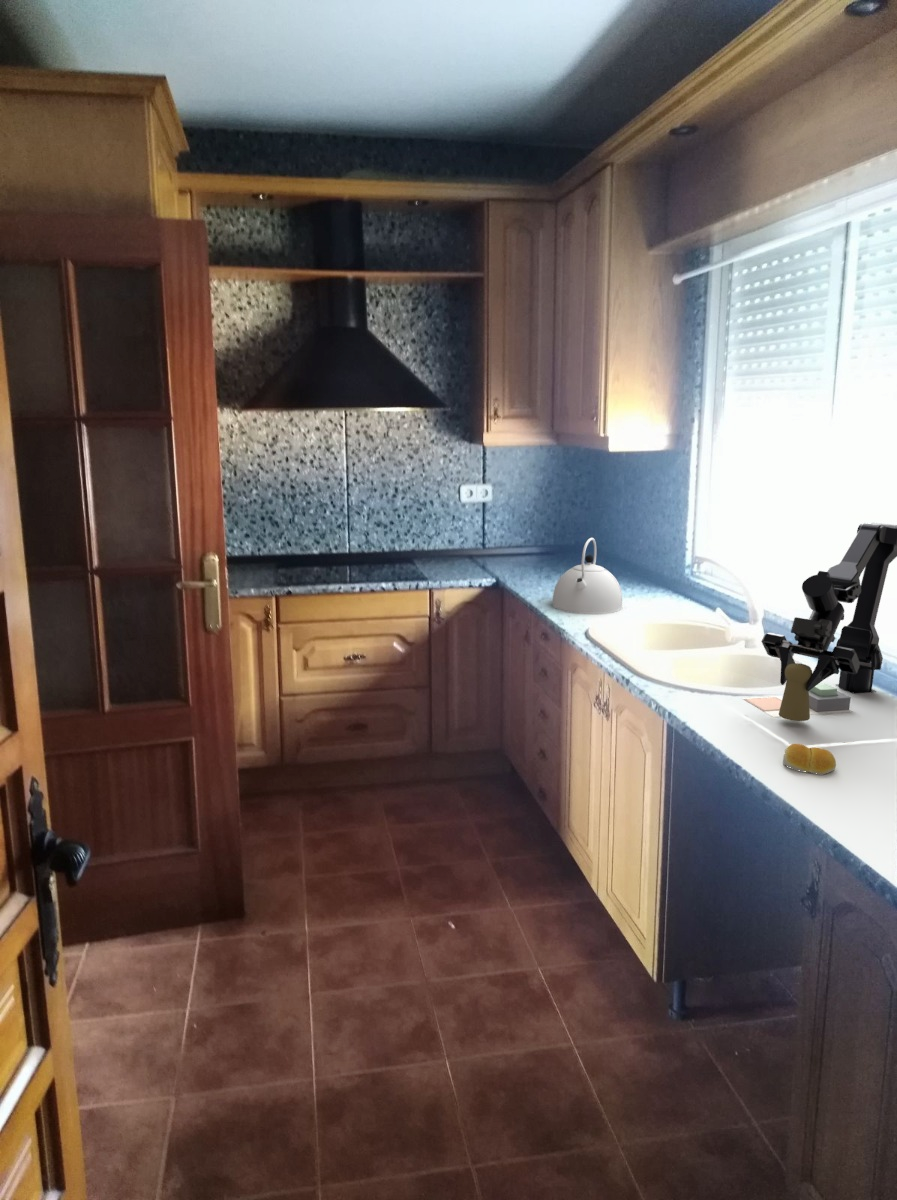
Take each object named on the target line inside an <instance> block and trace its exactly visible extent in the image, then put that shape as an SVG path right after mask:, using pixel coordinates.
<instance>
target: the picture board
mask: <svg viewBox="0 0 897 1200" xmlns="http://www.w3.org/2000/svg"><path fill="white" fill-rule="evenodd" d="M782 698H783V695H780V696H779V695H777V696H776V695H775V696H766V697H765V696H761V697H749V698H747V697H744V698H743V700H744V701H745V702H747V703H748V704H750V705H752V706H754V707H755V708H757V709H758V710H760V711H762V712H764V713H765V714H767V715H768V716H770V717H771V718H781V717H780V716H779V711H780V707H781V702H782ZM851 698H852V697H851V696H849V695H847V694H844V693H842V691H841V692H840V691H839V690H837V696H825V697H819V696H817V695H815V694H813V693H811V692H809V709H810V716H811V715H821V714H823V715H825V714H836V713H837V714H838V713H850V712H853V711H852V710H850V707H851V706H850V705H851Z"/></svg>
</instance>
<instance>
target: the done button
mask: <svg viewBox="0 0 897 1200" xmlns="http://www.w3.org/2000/svg"><path fill="white" fill-rule="evenodd" d="M837 691H838V688H836V687H834V686H832V685H830V684H828V683H826V682H825V683H822V682H821V683H819V684H817V685H816V686H815V687H814V688H812V689H811V690H810V691H809V692H811V693H813V694H815V695H817V696H819V697H825V696H837Z"/></svg>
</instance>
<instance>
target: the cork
mask: <svg viewBox="0 0 897 1200" xmlns="http://www.w3.org/2000/svg"><path fill="white" fill-rule="evenodd" d="M812 673H813V671H812V668H811V667H810V665H807V664H804V663H797V662H795V663H792V664H789V665H788V666H787V667H786V669H785V677H786V678H787V681H786V682H785V688H784V690H783V695H782V696H783V698H782V702H781V707H780V711H779V716H780V717H779V718H782V719H785V720H788V721H792V722H805V721H809V720H810V719H811V715H810V709H809V691H807V690H806V686H807V683H808V681H809V679H810V677H811V675H812Z"/></svg>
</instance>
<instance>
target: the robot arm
mask: <svg viewBox="0 0 897 1200" xmlns="http://www.w3.org/2000/svg"><path fill="white" fill-rule="evenodd" d="M896 558H897V524H889V523H877V522H876V523H875V522H871V523H868V522H867V523H866V522H864V523H859V525H858V527H857V530H856V535H855V537H854V538H853V540H852V542H851V543H850V545H849V547H848V548H847V550H846V552H845V553H844V555H843V556H842V559H841V560H840V561H839V563H838V564H836V565H833V566H831V567H829V568H828V569H827V571H825V570H818V572H817V574H815V575H811V576H809V577H807V578H806V579H805V580H803V582H802V585H801V589H802V592H803V594H804V597H805V601H806V602H807V605H808V607H809V609H811V610H812V612H811V614H810V616H809V617H808V618H803V617H797V616H796V617H795V616H794V618H793V622H792V626H791V629H790V633H791V634H794V640H795V641H796V642H797V644H796V643H793V642H791V641H789V640H787V638H786V636H785V635H784V634H779V633H773V632H767V633H766V634H764V635H763V638H761V639H762V640H761V643H762V646H763V648H764V650H765V652H766V654H767V656H770V657H771V658H772V657H773V658H776V659H779V661H780V681H779V682H780V683H779V684H780V685H782V686H784V685H785V684H786V682H787V678H786V677H785V669H786V667H787V666H788V665H789V664H792V663H796V662H795V659H794V655H799V656H805V657H811V658H814V659H817V663H816V666H815V668H814V669H813V671H812V675H811V677H810V679H809V681H808V683H807V686H806V690H807V691H810V690H811V689H812V688H814V687H815V686H816V685H817V684H821V683H822V682H823V681H824V680H826V679H828V678H829V677H831V676H832V675H838V674H839V680H838V683H837V684H835V687H838V688H839V689H841V690H844V691H847V692H849V693H851V694H865V693H876V692H877V691H876V690H875V689H873V684H874V673H875V670H876V671H880V670H881V669H882V666H883V659H884V657H883V654H882V652H881V648H880V645H879V643H880V637H879V634H878V632H877V631H878V630H877V629H876V626H875V625H876V620H877V616H878V612H879V608H880V602H881V599H882V594H883V591H884V585H885V581H886V578H887V573H888V570H889V566H890V563H892V562H893V561H894V560H895V559H896ZM862 573H863V574H862ZM861 575H862V578H861V579H860V577H861ZM856 599H857V601H856V604H855V608H854V614H853V616H852V617H853V618H852V620H851V621H850V622H849V623H848V624H847V625H843V627H842V628H841V631H840V632H841V633H840V636H839V638H838V639H837V642H836V646H834V647H833V649H832V651H831V650H828V649H829V647H830V645H831V643H835V639H836V637H835V634H836V631H837V629H838V627H839V625H840V623H841V621H844V619H845V607H844V606H843V604H842V603H846V604H852V603H854V602H855V600H856Z"/></svg>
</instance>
